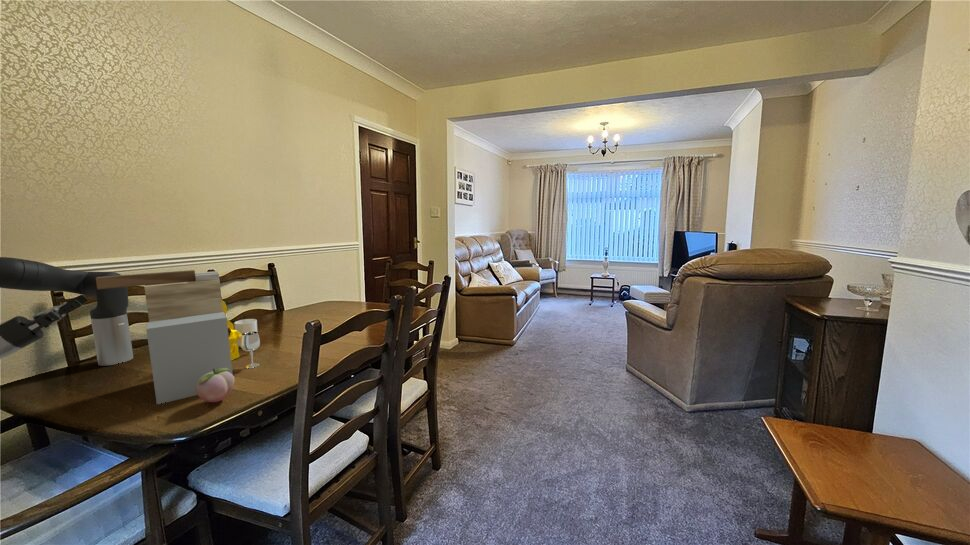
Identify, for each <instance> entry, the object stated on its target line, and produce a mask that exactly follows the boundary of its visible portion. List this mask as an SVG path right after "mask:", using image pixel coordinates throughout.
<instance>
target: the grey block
mask: <svg viewBox="0 0 970 545" xmlns="http://www.w3.org/2000/svg"><path fill="white" fill-rule="evenodd" d="M227 319H228V318H227V314H226V315H225V313H224V312H220V313H213V314H205V315H198V316H190V317H182V318H175V319H167V320H160V321H152V322H149V321H147V325H146V328H145V329H146V336H147V337H146V338H147V343H148V350H149V351H148V352H149V358H150V365H151V372H152V379H153V385H154V386H153V388H154V393H155V394H154V395H155V399H156V400H155V401H156V405H157V404H158V405H161V403H162V404H166V403H169V402H174V401H178V400H182V399H186V398H191V397H195V396H198V394H197V392H196V389H195V387H196V383H197V382H198V380H199V379H200V378H201V377H202V376H203V375H205V374H207V373H209V372H213V369H215V370H217V369H220V368H228V369H230V370H226V371H227V372H230V373H231V374H232V375H233V376H234V374H233V365H232V364H233V363H232V361H231V354H230V345H229V336H228V326H227ZM165 402H166V403H165Z"/></svg>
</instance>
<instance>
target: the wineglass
mask: <svg viewBox="0 0 970 545" xmlns="http://www.w3.org/2000/svg"><path fill="white" fill-rule="evenodd" d="M260 345H261V339H260V335H259V333H258V331H257V332H255V331H252V332H246V333H243V334H242V335H241V347H240V348H241V349H242V350H243V351H245V352H249V356H250V361H251V363H250V364H247V365H245V366H244V367H245V369H248V368H249V369H255V368H258V367H259V365H261V364H260V363H258V362H257V363H255V362H254V358H253V357H254V352H253V351H256V350H257V349H258V348H259V347H260ZM257 366H258V367H257ZM254 367H255V368H254Z"/></svg>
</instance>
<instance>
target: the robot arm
mask: <svg viewBox="0 0 970 545" xmlns="http://www.w3.org/2000/svg"><path fill="white" fill-rule="evenodd" d="M117 275H121V273H118V272H116V271H115V272H114V271H83V270H70V269H66V268H60V267H57V266H54V265H51V264H48V263H45V262H42V261H41V262H40V261H36V260H31V259H23V258H17V257H9V256H8V257H7V256H0V289H8V290H17V291H18V290H20V291H32V292H49V291H50V292H66V293H71V294H77V295H78V296H76V297H74V298H72V299H70V300H68V301H65V302H62V303H61V304H59V305H54V306H52V307H50V308H47V309H46V310H43V311H41V312H38V313H36V314H35V315H32V319H28V318H27V317H25V316H22V315H21V316H20V315H18V316H17V315H16V316H14V317H12V318H11V319H8V320H7V321H5V322H2V323H0V360H1V359H3V358H5V357H9V356H10V355H13V354H14V353H16V352H18V351H20V350H22V349H23V348H26V347H28V346H29V345H31V344H33V343H35V342H37V341H39V340H41V339H42V338H43V337H44V332H43V330H42V329H44V328H45V329H47V328H49V327H51V326H52V325H54V324H55V323H58V322H59V321H61V319H62V318H65V316H66V315H67V314H69V313H71V312H73V311H75V310H77V309H79V308H80V307H82V306H83V304H84V303H87V302H88V301H89V300H88V298H87V297H92V298H96V306H95V307H94V308H92V309H91V310H90V311H89V316H90V321H91V328H92V332H93V333H92V334H93V339H94V347H95V353H96V359H97V365H98V366H103V367H104V366H113V365H119V364H123V363H127V362H128V361H131V360H133V359H134V353H133V352H134V351H133V346H132V345H133V344H132V338H131V332H130V326H129V320H128V313H127V312H128V311H127V310H128V307H129V293H128V292H129V291H128V287H119V288H107V289H97V283H96V278H97V277H103V276H117ZM86 296H87V297H86ZM122 362H123V363H122ZM118 363H119V364H118Z"/></svg>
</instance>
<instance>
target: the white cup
mask: <svg viewBox="0 0 970 545" xmlns="http://www.w3.org/2000/svg"><path fill="white" fill-rule="evenodd" d="M233 325H234V330H237V331H238V332H239V333H241V334H243V333H246V332H252V331H255V332H257V333H258V320H257V319H256V318H245V319H240V320H237V321H235V322H234V323H233ZM237 343H238V348H242V347H241V340H239V339H237Z"/></svg>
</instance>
